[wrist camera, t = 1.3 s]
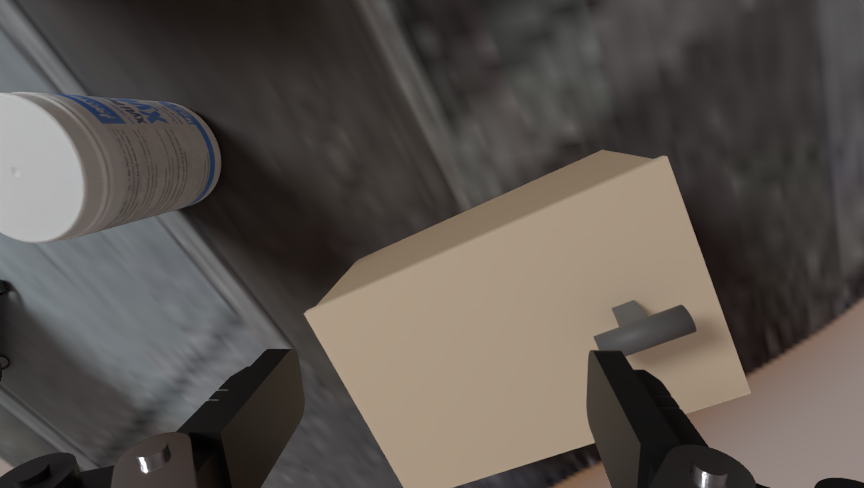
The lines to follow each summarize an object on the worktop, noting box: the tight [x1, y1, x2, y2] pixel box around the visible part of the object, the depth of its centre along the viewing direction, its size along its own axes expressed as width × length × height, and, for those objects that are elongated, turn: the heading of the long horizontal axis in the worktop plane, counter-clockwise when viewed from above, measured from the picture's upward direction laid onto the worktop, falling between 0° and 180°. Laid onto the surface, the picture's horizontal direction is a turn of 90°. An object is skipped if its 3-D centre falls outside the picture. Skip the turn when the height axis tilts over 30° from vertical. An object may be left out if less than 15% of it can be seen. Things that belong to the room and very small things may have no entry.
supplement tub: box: [0, 92, 221, 243], centre depth 34 cm, size 10×10×15 cm
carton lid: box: [304, 156, 751, 488], centre depth 27 cm, size 24×16×4 cm
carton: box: [317, 150, 654, 306], centre depth 35 cm, size 24×16×12 cm, turn 116°
